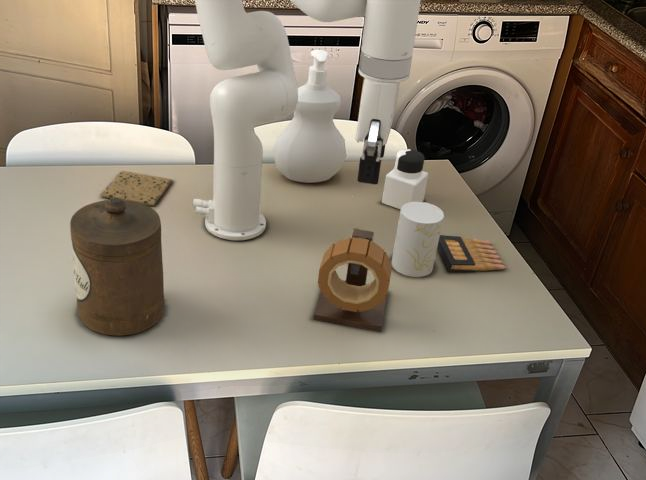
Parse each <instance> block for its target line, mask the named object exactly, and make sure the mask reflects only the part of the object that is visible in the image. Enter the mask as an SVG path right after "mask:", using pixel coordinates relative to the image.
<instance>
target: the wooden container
mask: <svg viewBox="0 0 646 480" xmlns="http://www.w3.org/2000/svg"><path fill="white" fill-rule="evenodd" d="M69 229H70V239H71V251H72V261H73V276H74V287H75V297H76V305H77V314H78V318H79V320H80V321H81V323H82V324H83V325H84V327H85V326H86V328H87V329H90V330H92V331H94V332H96V333H97V334H102V335H107V336H116V337H117V336H120V337H121V336H128V335H129V336H130V335H134V334H139V333H141V332H145V331H146V330H148V329H150V328H152V327H153V326H155V325H156V324H157V323H158V322H159V321H160V319H161V318H162V317H163V314H164V311H165V294H164V293H165V288H164V263H163V248H162V247H163V245H162V221H161V217H160V215H159V213H158V212H157V211H156V210H155V209H154V208H152V206H150V205H149V206H148V205H145V204H142V203H139V202H135V201H130V200H122V199H119V198H116V197H114V198H108V199H105V200H99V201H95V202H92V203H89V204H86V205H84V206H82V207H80V208H79V209H78V210H76V211H75V212H74V213H73V214H72V216H71V219H70V223H69Z"/></svg>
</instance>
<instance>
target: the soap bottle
mask: <svg viewBox="0 0 646 480" xmlns="http://www.w3.org/2000/svg"><path fill="white" fill-rule="evenodd" d="M310 55H311V57H313V63H312V64H313V65H310V66H309V67H308V76H307V77H308V78H307V80H306V83H305V84H303V85H301V86H299V87H297V89H298V103H297V107H296V109H295V110H294V112H293V117H292V119H291V120H290V122H289V123H288V124H287V125H286V126H285V128H283V130H281V131H280V133H279V134H278V135H277V136H276V140H275V143H274V146H273V149H272V153H273V159H274V163H275V166H276V168H277V169H278V170H279V171H280V173H281V174H282V175H283V176H284V177H285V178H286V179H288V180H290V181H293V182H297V183H298V182H299V183H307V184H309V183H311V184H312V183H321V182H326V181H329V180H330V179H331V178H333V176H335V175H336V174H337V173H338V172H339V171H340V170H341V169H343V168H342V167H343V165H344V163H345V160H346V158H347V147H346V138H345V137H344V136H343V135H342V133H341V132H340V131H339V129H338V128H337V126H336V125H335V122H334V116H335V114H336V113H337V112H338V111H339V110H340V109H341V105H342V99H341V95H340V94H339V93H337V92H336V91H335V90H334V89H333V88H331V87H330V86H328V85H327V74H328V68H327V67H326V66H325V63H326V61H327V59H328V57H329V52H328V51H326V50H324V49H314V50H311V51H310Z"/></svg>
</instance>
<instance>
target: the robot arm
mask: <svg viewBox="0 0 646 480" xmlns="http://www.w3.org/2000/svg"><path fill="white" fill-rule="evenodd" d="M289 1H290V2H291V3H292V4H293V5H294V6H295V7H297V8H298V10H300V11H302V13H304V14H305V15H307V16H308V17H309V18H311V19H312V20H313V19H314V20H316V21H318V22H322V23H333V22H338V21H343V20H348V19H355V18H364V23H363V30H362V38H361V46H360V54H359V55H360V56H359V64H358V65H359V66H358V74H359V75H360V76H361V77H362V78H364V79H363V83H362V90H361V97H360V102H359V109H358V111H359V112H358V118H357V125H356V132H355V142H356V143H362V142H363V146H362V152H361V156H360V157H359V164H358V173H357V178H356V179H357V180H356V181H357V182H358V183H362V184H370V185H378V184H379V179H380V172H381V166H382V159H383V158H384V157H385V150H386V144H388V140H389V137H390V133H391V129H392V125H393V122H394V118H395V113H396V108H397V103H398V97H399V92H400V91H399V90H400V83H402V82H406V81H407V80H409V78H410V74H411V66H412V60H413V53H414V47H415V40H416V35H417V34H416V33H417V27H418V20H419V14H420V7H421V1H422V0H289ZM194 4H195V9H196V14H197V17H198V21H199V26H200V32H201V35H202V39H203V40H202V41H203V44H204V48H205V53H206V55H207V58H208V61H209V63H210V64H211V66H212V67H213V68H215V69H217V70H219V71H230V70H237V69H242V68H247V67H252V66H257V70H258V71H256V72H250V73H246V74H241V75H236V76H233V77H232V76H231V77H229V78H226V79H224V80H222V81H220V82H218V83H217V84H216V85H215V86H214V87H213V89H212V90H211V92H210V94H209V108H210V114H211V120H212V121H211V122H212V127H213V128H212V129H213V182H212V183H213V184H212V185H213V186H212V187H213V189H212V199H209V200H204V199H201V198H200V199H199V198H194V199H193V202H192V207H193V208H194V209H195V210H194V211H195V214H200V215H205V218H204V226H205V228H206V230H207V231H208V232H209V233H210V234H211V235H213V236H215V237H217V238H220V239H223V240H229V241H245V240H246V241H247V240H251V239H254V238H257V237H258V236H260V235H262V234H263V233H264V232H265V230H266V228H267V219H266V216H264V215H263V214H262V213H261V212H260V206H261V190H262V189H261V188H262V175H263V160H264V159H263V156H264V149H263V143H262V141H261V139H260V138H259V136H258V135H257V133H256V132H255V127H257V126H259V125H262V124H266V123H270V122H274V121H278V120H280V119H284V118H287V117H289V116H290V115H292V114H294V110H295V109H296V107H297V103H298V89H297V88H298V83H297V78H296V73H295V68H294V63H293V57H292V52H291V47H290V43H289V39H288V38H289V37H288V34H287V30H286V28H285V25H284V24H283V23H282V20H281V19H280V18H279V17H278V16H277V15H275V14H274V13H273V12H271V11H267V10H257V11H252V12H246V10H245V7H244V3H243V0H194Z"/></svg>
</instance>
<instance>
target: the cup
mask: <svg viewBox="0 0 646 480" xmlns="http://www.w3.org/2000/svg"><path fill="white" fill-rule="evenodd" d="M444 217H445V214H444V212H443V210H442V209H441V208H440V207H438V206H436V205H434V204H432V203H429V202H424V201H423V202H409V203H406V204H404V205H403V206H402V207H401V210H400V211H399V217H398V223H397V228H396V234H395V240H394V245H393V251H392V256H391V261H390V262H391V264H392V266H391V267H392V269H394V270H395V271H396V272H398V273H399V274H401V275H404V276H407V277H412V278H421V277H426V276H428V275H430V274H431V273H432V272H433V269H434V265H435V260H436V256H437V250H438V248H437V246H438V242H439V237H440V235H441V232H442V227H443V222H444Z"/></svg>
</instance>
